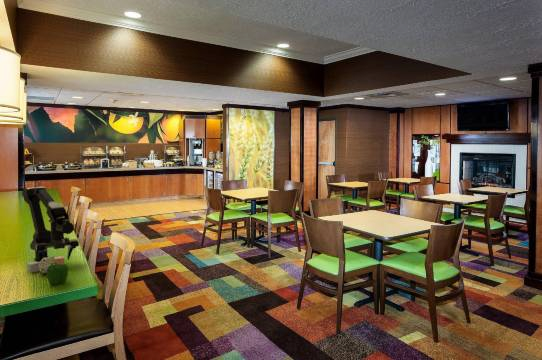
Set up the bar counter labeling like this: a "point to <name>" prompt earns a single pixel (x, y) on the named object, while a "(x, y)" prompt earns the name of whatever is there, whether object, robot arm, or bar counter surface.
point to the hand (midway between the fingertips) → (58, 261)
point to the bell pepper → (57, 273)
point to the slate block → (32, 267)
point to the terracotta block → (59, 259)
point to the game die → (45, 264)
